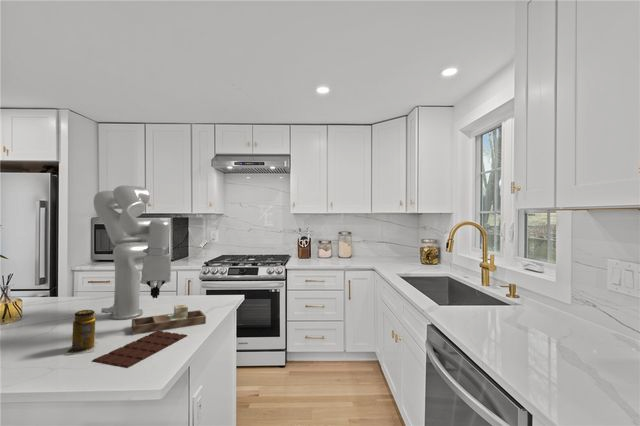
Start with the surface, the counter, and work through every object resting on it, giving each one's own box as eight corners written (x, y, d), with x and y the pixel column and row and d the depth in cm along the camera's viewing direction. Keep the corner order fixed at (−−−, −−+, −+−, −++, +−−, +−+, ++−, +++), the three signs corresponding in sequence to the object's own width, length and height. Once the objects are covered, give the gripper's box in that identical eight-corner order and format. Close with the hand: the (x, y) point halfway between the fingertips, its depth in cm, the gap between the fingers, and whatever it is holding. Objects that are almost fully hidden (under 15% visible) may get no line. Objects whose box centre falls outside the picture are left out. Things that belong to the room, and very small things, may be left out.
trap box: (133, 334, 120) (133, 326, 120) (131, 326, 129) (131, 318, 129) (205, 323, 135) (205, 316, 135) (199, 316, 143) (200, 310, 143)
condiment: (97, 342, 113) (98, 307, 113) (93, 352, 105) (94, 314, 105) (71, 345, 109) (72, 309, 109) (65, 355, 102) (66, 317, 102)
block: (175, 318, 131) (176, 308, 131) (173, 315, 134) (174, 305, 134) (187, 316, 133) (187, 307, 133) (185, 314, 137) (185, 304, 137)
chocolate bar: (157, 332, 124) (157, 329, 124) (187, 337, 121) (187, 334, 121) (91, 362, 98) (91, 359, 98) (127, 369, 95) (127, 366, 95)
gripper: (137, 253, 122) (133, 301, 123) (179, 253, 130) (176, 298, 131) (135, 250, 128) (132, 296, 129) (176, 249, 137) (173, 293, 137)
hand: (154, 297), depth 130 cm, fingers closed
